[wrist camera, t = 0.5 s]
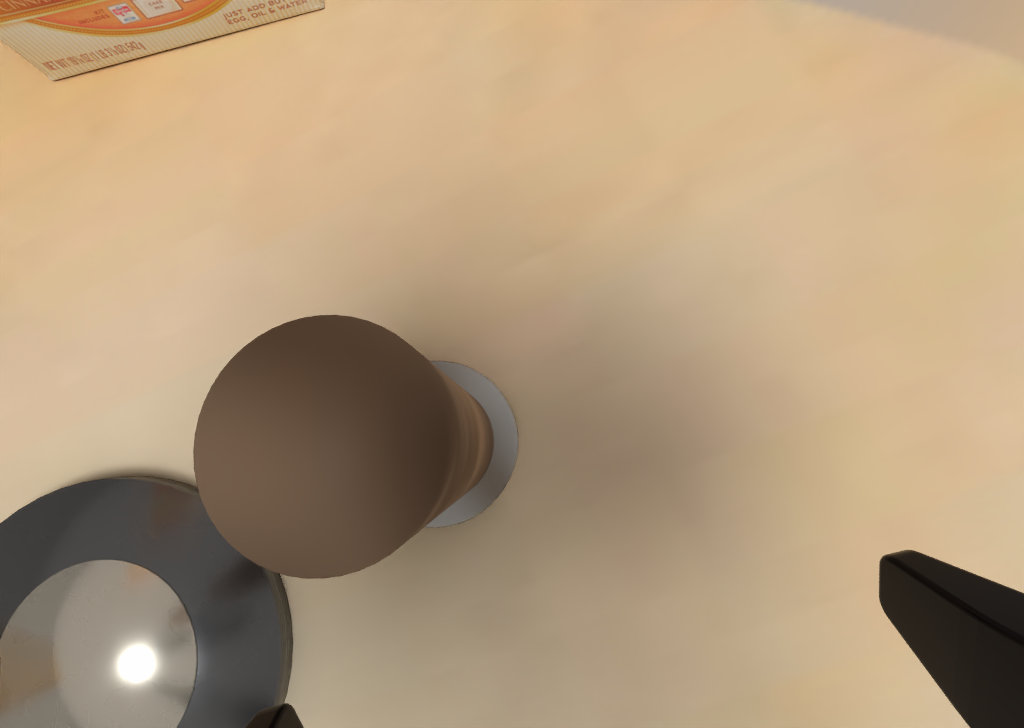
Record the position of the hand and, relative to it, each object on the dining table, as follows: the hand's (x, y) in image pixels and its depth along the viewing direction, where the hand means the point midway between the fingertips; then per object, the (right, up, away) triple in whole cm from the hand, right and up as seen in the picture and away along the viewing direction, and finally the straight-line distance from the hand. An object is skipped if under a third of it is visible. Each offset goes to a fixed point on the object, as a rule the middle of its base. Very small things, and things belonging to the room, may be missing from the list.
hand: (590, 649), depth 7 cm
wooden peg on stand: (-4, +1, +15) cm, 16 cm away
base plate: (-18, -8, +14) cm, 24 cm away
